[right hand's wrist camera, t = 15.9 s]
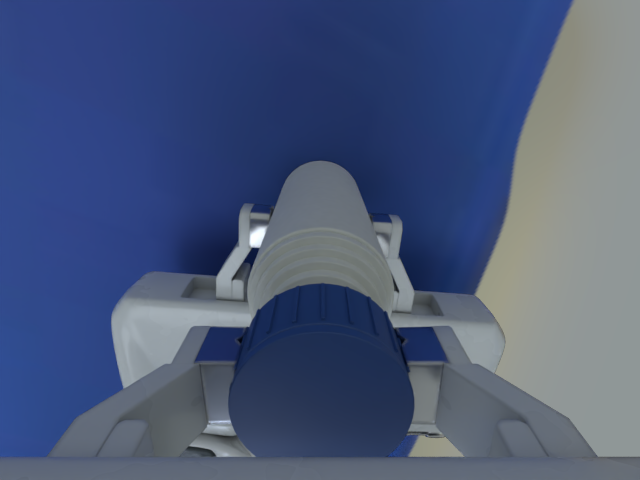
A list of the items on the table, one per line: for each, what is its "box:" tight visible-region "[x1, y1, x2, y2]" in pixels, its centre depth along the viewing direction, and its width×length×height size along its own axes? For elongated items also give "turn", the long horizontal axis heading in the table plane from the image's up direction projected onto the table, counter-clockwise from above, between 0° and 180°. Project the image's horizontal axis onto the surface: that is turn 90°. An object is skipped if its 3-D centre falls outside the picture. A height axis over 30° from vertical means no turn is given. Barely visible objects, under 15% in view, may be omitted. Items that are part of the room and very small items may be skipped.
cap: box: [228, 283, 415, 457], centre depth 9 cm, size 4×4×2 cm
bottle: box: [247, 161, 394, 320], centre depth 17 cm, size 5×5×17 cm
